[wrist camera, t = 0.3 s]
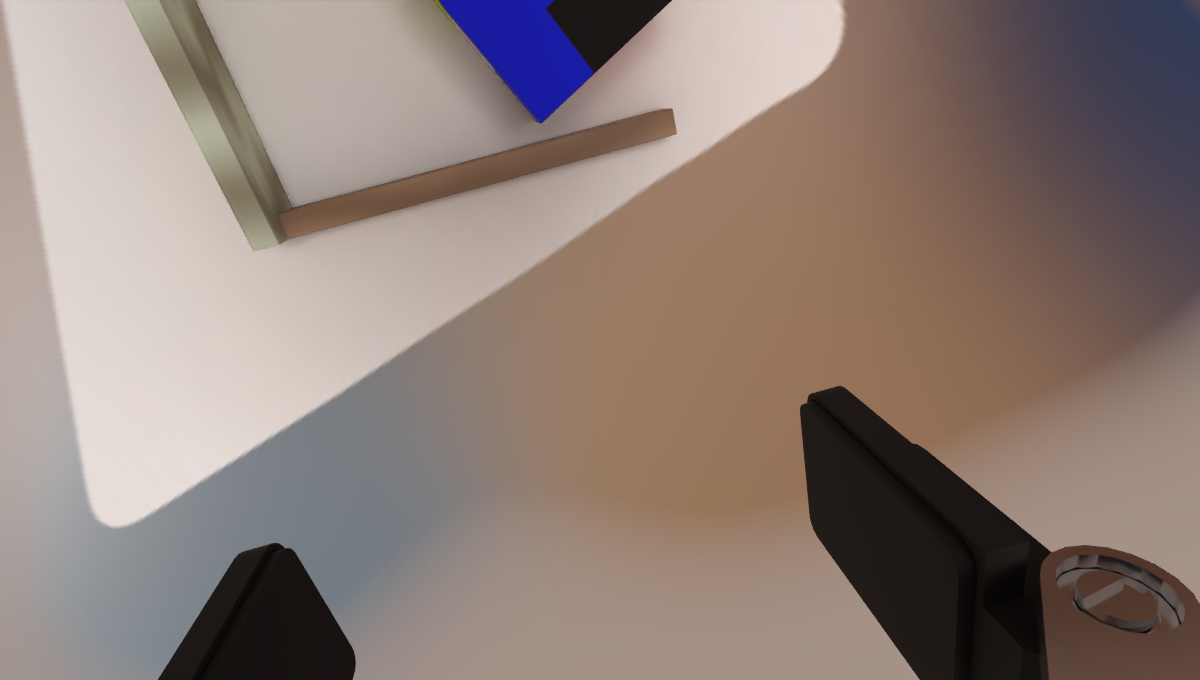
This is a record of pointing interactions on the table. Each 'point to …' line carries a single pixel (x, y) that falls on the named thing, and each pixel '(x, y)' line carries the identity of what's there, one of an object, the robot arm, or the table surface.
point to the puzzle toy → (548, 41)
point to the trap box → (270, 219)
